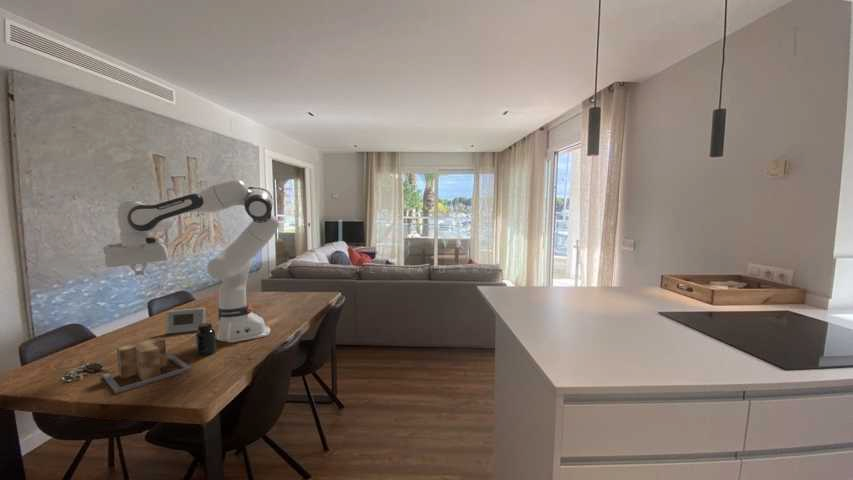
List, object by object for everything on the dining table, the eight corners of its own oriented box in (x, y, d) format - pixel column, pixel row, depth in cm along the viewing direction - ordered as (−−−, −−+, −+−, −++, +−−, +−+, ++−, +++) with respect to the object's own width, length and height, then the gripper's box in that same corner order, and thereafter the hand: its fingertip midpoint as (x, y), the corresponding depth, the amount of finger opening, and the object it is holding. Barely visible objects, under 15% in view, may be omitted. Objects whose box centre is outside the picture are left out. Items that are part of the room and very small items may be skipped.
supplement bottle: (202, 349, 146) (201, 322, 145) (219, 349, 146) (218, 321, 146) (193, 356, 139) (191, 327, 138) (210, 355, 140) (209, 326, 139)
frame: (173, 357, 138) (173, 355, 138) (191, 370, 127) (191, 367, 127) (103, 377, 122) (102, 374, 122) (115, 393, 110) (115, 390, 110)
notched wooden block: (163, 362, 133) (161, 337, 133) (174, 371, 126) (172, 344, 125) (118, 375, 123) (116, 347, 123) (127, 385, 116) (125, 356, 115)
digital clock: (163, 335, 164) (162, 313, 164) (174, 329, 173) (172, 308, 172) (201, 332, 167) (200, 311, 167) (209, 326, 176) (208, 306, 175)
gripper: (99, 244, 134) (104, 280, 134) (163, 238, 143) (168, 271, 143) (106, 245, 140) (111, 278, 140) (167, 238, 148) (172, 270, 149)
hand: (140, 275), depth 142 cm, fingers closed
